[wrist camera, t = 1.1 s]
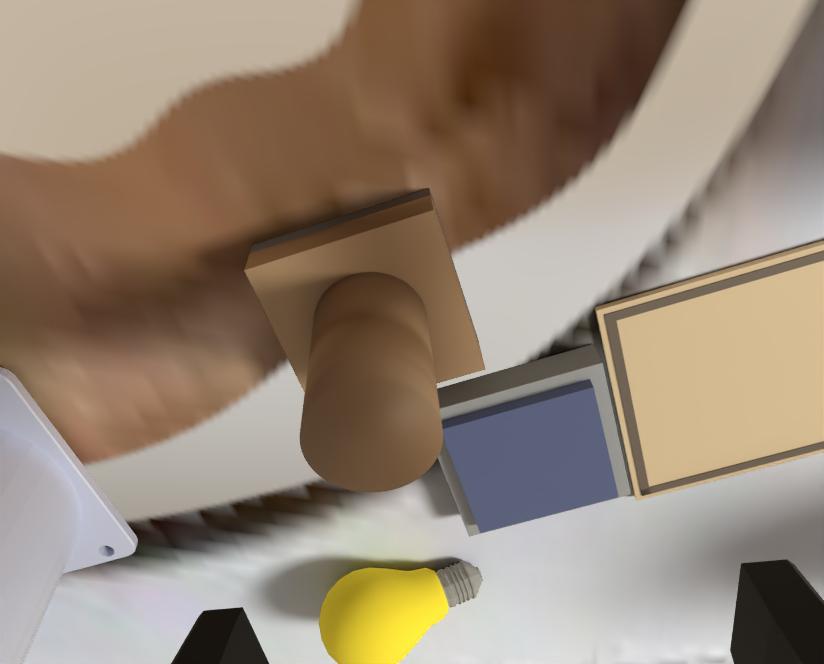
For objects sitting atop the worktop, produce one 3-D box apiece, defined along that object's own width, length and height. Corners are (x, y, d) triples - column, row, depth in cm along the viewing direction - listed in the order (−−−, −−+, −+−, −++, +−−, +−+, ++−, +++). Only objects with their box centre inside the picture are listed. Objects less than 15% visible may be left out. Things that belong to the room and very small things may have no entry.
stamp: (320, 385, 22) (305, 547, 17) (252, 243, 20) (209, 380, 14) (477, 338, 22) (515, 491, 16) (429, 186, 19) (453, 307, 14)
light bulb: (301, 573, 27) (313, 627, 23) (452, 513, 28) (485, 556, 24) (328, 650, 28) (344, 713, 24) (474, 589, 29) (509, 641, 25)
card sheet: (634, 496, 25) (636, 501, 25) (594, 307, 21) (596, 311, 21) (871, 435, 24) (875, 439, 24) (877, 224, 20) (882, 227, 20)
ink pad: (465, 514, 25) (470, 545, 24) (418, 394, 23) (421, 422, 21) (622, 473, 25) (635, 502, 24) (593, 343, 22) (606, 370, 21)
